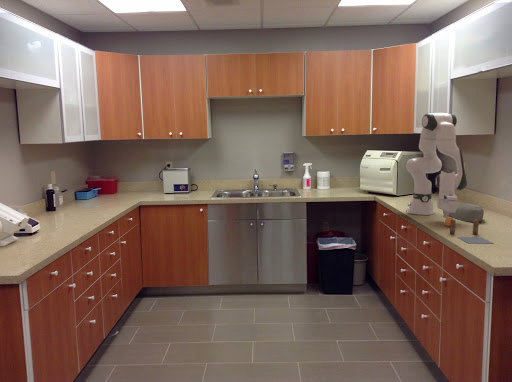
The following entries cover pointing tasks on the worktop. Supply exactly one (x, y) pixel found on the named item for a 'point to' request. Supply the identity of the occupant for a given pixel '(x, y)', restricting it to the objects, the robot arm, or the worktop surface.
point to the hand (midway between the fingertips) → (445, 217)
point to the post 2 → (475, 227)
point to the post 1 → (452, 227)
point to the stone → (468, 212)
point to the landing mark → (475, 240)
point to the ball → (448, 221)
